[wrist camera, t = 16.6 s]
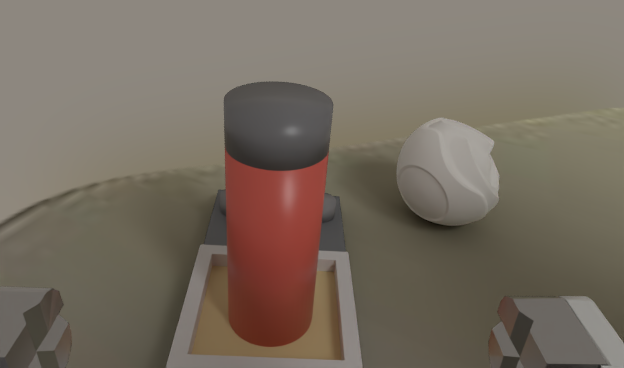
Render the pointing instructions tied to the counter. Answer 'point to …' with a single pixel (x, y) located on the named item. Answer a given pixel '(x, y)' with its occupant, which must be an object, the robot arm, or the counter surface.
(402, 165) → the white swirled ball
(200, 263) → the control panel
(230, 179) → the red cylinder with cap
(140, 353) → the counter surface
